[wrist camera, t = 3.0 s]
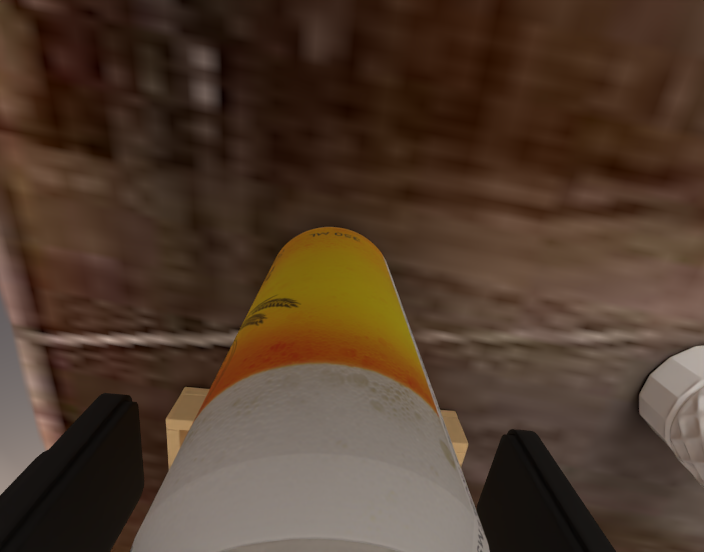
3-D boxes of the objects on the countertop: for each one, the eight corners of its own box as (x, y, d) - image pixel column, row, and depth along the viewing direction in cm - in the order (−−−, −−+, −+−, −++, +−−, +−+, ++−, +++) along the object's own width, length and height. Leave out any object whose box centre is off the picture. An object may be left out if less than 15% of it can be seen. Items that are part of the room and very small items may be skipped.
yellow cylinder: (257, 237, 18) (-18, 592, 4) (376, 210, 18) (511, 496, 4) (290, 339, 20) (185, 792, 6) (397, 317, 20) (531, 743, 6)
